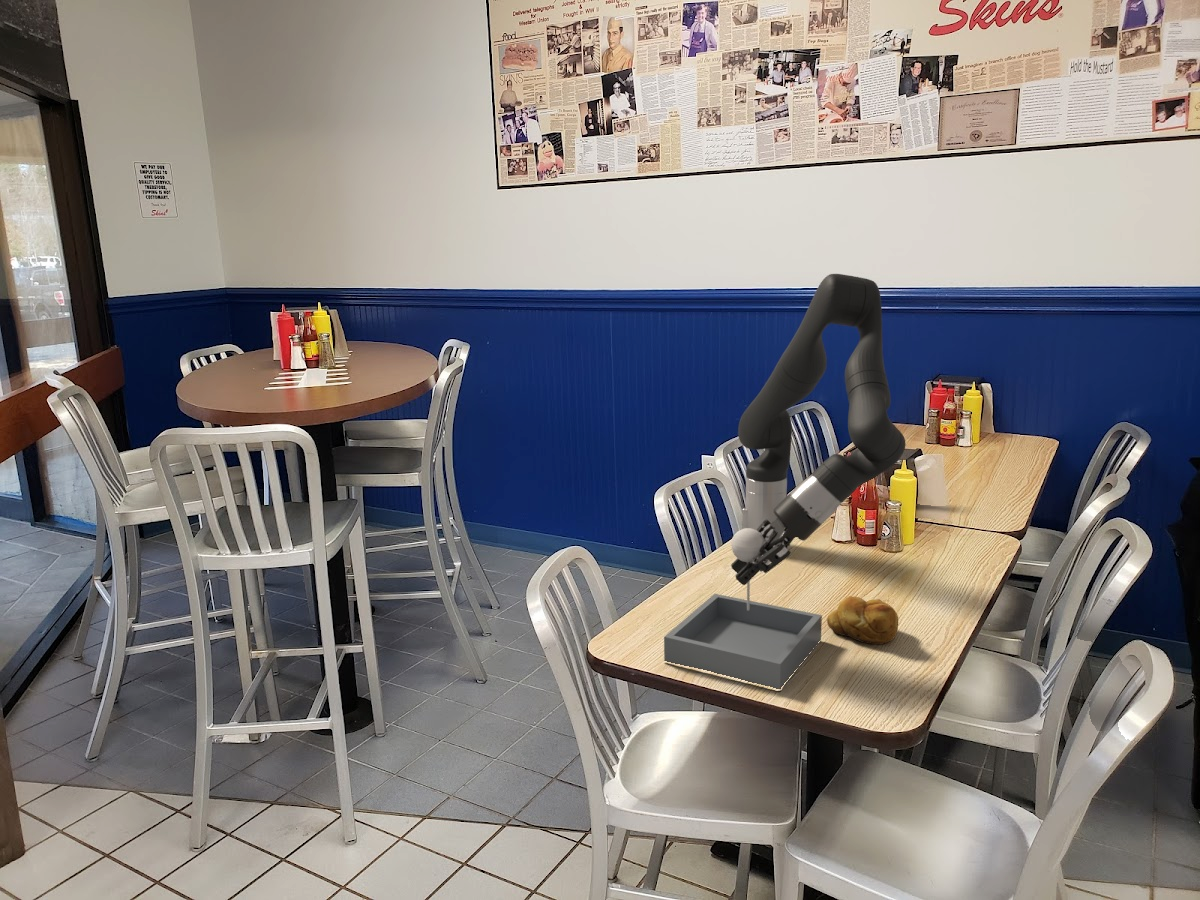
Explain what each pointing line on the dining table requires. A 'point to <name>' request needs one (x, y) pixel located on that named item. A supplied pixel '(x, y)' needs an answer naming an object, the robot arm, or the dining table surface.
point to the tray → (744, 640)
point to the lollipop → (747, 549)
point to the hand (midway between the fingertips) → (737, 575)
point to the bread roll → (864, 620)
